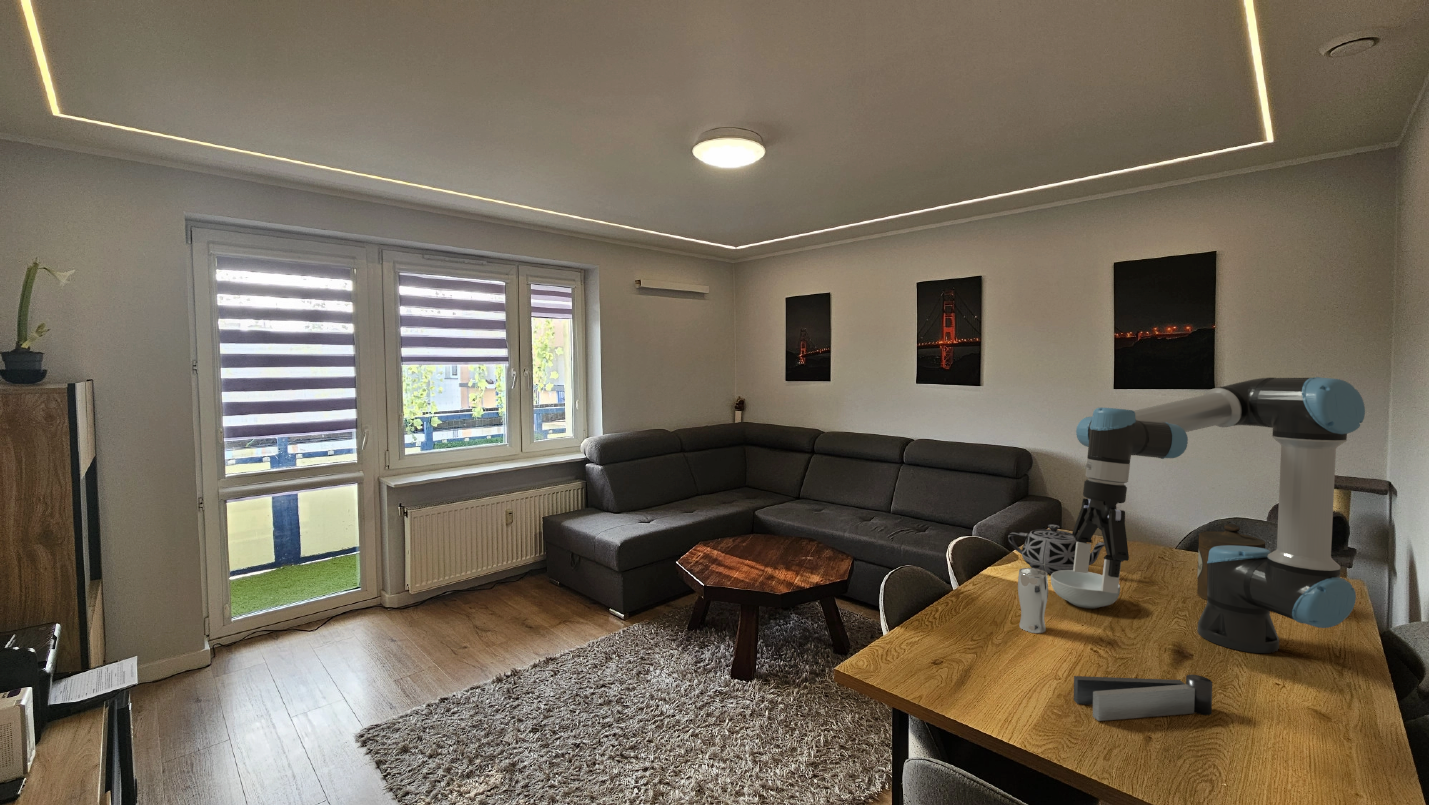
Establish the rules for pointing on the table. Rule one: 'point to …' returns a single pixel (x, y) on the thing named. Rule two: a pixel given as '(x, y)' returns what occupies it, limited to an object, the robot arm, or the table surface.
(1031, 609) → the beer glass
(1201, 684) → the blade
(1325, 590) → the robot arm
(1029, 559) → the teapot
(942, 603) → the table surface
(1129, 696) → the bar
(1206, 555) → the brown lidded jar
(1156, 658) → the table surface
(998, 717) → the table surface
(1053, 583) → the cereal bowl
